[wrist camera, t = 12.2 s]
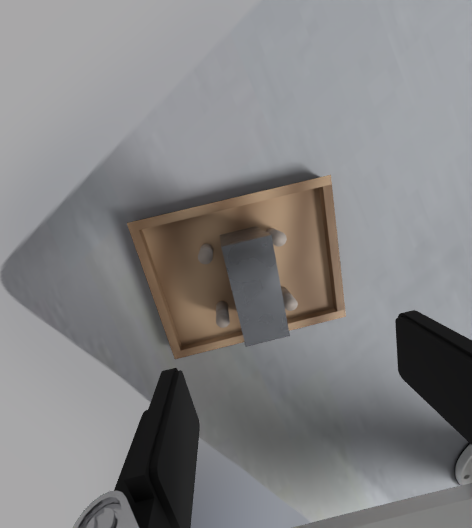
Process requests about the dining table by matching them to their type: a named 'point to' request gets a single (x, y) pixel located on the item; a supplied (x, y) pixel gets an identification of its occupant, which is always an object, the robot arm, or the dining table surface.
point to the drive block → (255, 284)
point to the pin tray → (214, 269)
